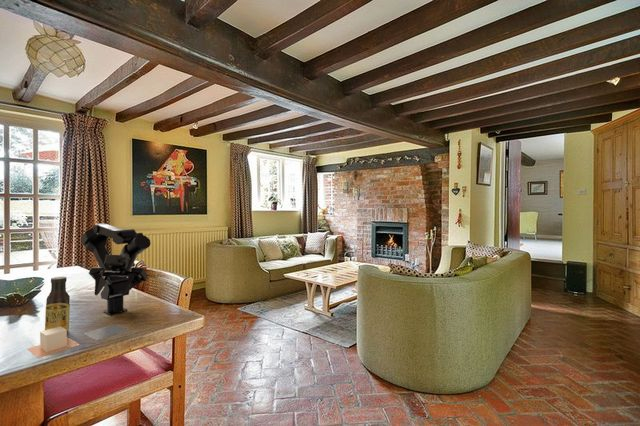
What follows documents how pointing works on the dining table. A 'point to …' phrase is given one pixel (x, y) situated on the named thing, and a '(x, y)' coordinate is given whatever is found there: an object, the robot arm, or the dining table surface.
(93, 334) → the slate tile
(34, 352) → the terracotta tile
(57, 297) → the sauce bottle
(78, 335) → the dining table surface
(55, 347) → the cream block
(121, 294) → the robot arm
